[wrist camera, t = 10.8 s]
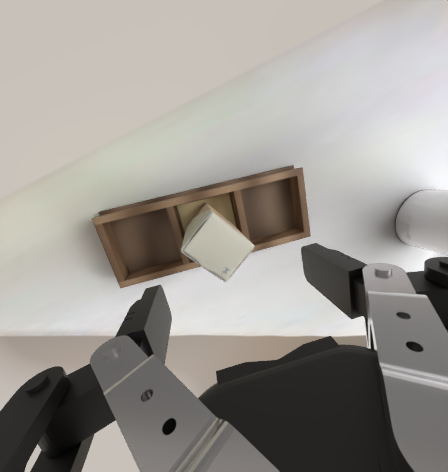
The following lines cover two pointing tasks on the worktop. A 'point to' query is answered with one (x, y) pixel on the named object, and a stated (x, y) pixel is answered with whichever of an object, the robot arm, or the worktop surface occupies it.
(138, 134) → the worktop surface
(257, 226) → the tray
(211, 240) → the box
